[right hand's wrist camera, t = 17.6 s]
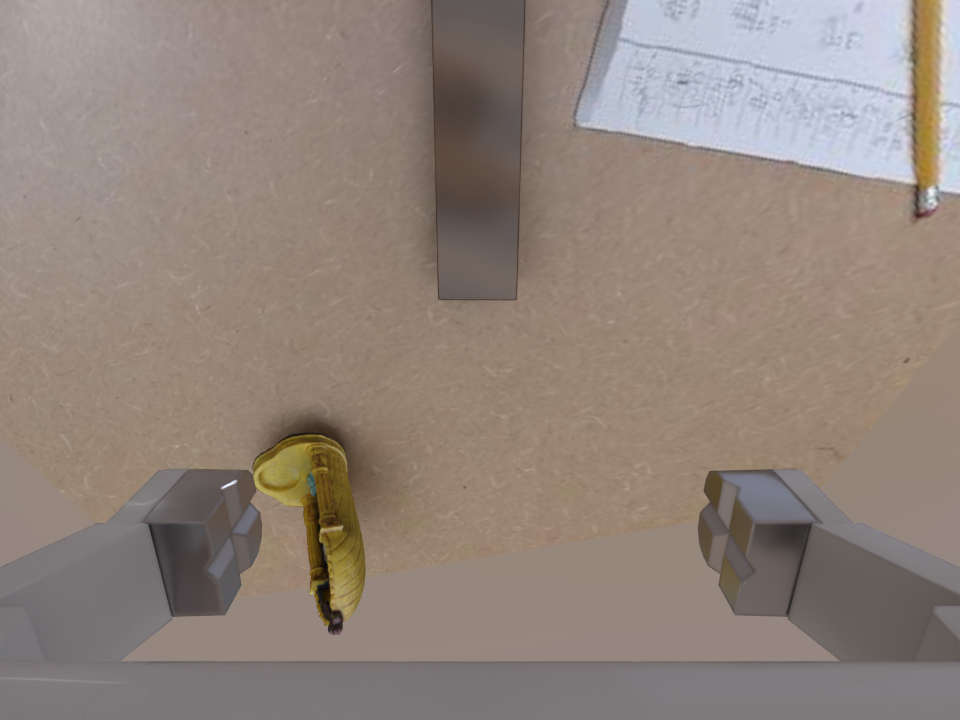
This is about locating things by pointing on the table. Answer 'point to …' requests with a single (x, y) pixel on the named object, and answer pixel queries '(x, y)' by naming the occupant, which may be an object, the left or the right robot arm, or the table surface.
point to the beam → (477, 145)
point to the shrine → (320, 517)
